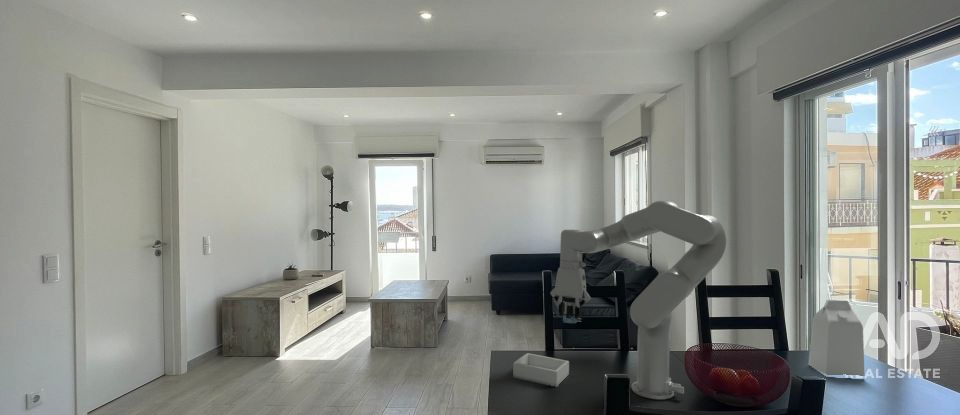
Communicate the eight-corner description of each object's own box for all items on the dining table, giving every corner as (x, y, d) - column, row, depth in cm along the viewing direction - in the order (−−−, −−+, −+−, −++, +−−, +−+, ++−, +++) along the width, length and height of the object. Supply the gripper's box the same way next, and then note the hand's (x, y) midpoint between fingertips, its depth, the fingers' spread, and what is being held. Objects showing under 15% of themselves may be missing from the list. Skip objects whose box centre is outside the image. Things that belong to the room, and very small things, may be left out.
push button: (580, 321, 165) (581, 293, 165) (581, 324, 160) (582, 296, 160) (561, 319, 166) (562, 292, 166) (562, 323, 161) (562, 295, 161)
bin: (568, 375, 160) (569, 361, 160) (556, 387, 150) (556, 371, 150) (527, 366, 168) (527, 353, 168) (513, 377, 158) (513, 362, 158)
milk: (844, 368, 170) (846, 297, 170) (864, 380, 159) (866, 304, 158) (808, 365, 172) (810, 295, 172) (825, 377, 161) (827, 302, 161)
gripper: (598, 266, 162) (596, 318, 162) (552, 261, 171) (551, 310, 171) (590, 268, 155) (589, 322, 156) (544, 263, 165) (542, 314, 165)
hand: (569, 315), depth 164 cm, fingers closed on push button, 5 cm apart
